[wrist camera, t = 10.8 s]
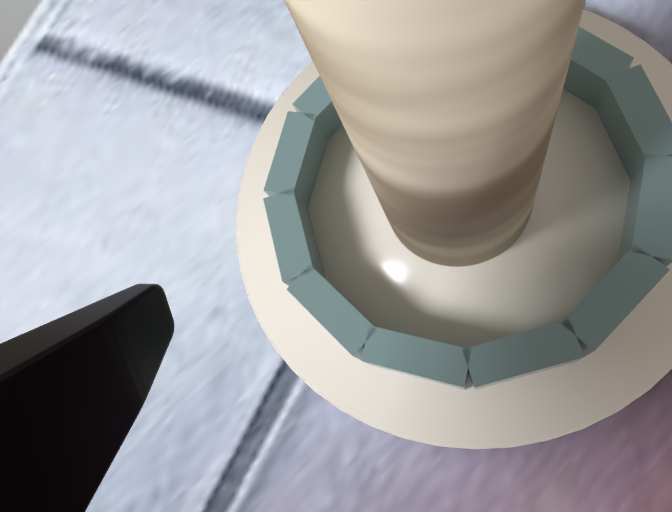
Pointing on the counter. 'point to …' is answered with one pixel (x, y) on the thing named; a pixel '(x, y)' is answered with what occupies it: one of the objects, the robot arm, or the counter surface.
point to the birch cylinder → (446, 109)
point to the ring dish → (475, 267)
